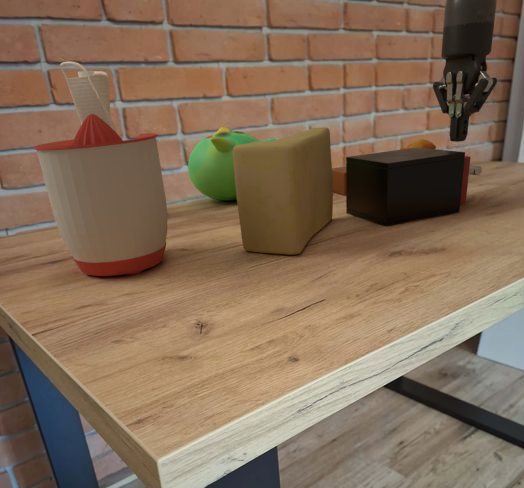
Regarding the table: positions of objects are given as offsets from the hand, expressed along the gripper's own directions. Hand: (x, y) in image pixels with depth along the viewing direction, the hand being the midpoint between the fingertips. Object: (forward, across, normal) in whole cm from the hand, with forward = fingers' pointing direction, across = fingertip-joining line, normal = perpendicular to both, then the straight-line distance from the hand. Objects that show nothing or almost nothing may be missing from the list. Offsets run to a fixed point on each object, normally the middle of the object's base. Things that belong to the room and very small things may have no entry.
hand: (457, 141), depth 88 cm
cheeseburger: (+11, +21, -9) cm, 26 cm away
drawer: (+10, 0, +6) cm, 12 cm away
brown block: (+11, +25, +8) cm, 28 cm away
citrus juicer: (+11, -1, +59) cm, 60 cm away
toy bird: (+11, +35, +30) cm, 47 cm away
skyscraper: (+11, +31, +56) cm, 65 cm away
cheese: (+11, -2, +31) cm, 33 cm away
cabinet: (+11, 0, +11) cm, 15 cm away
